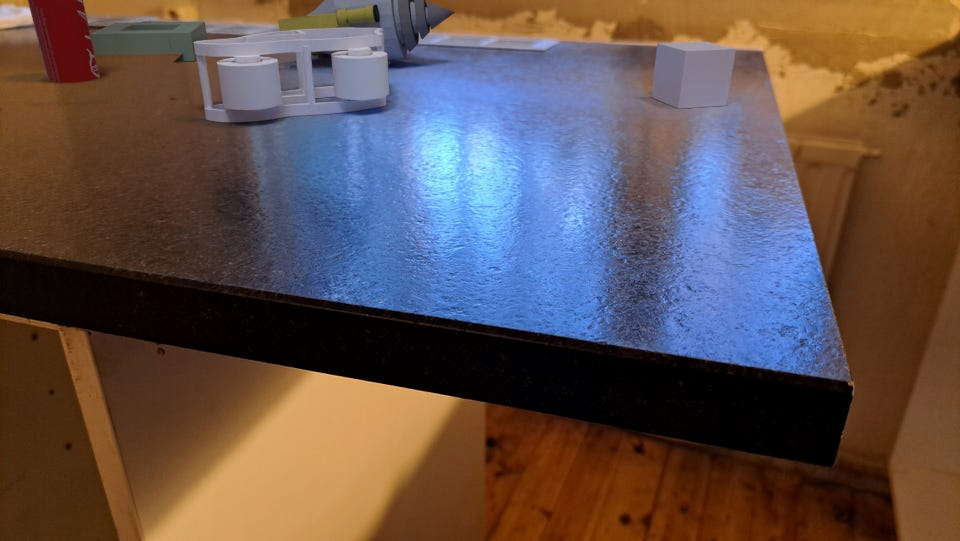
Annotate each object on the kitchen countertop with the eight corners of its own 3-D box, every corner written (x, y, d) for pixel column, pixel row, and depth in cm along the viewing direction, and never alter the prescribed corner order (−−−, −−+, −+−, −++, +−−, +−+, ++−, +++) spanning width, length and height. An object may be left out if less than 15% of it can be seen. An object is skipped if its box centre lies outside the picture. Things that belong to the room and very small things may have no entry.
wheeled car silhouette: (212, 131, 66) (199, 50, 63) (199, 107, 75) (187, 34, 72) (412, 111, 74) (410, 38, 71) (380, 91, 83) (376, 25, 80)
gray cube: (651, 97, 81) (657, 43, 78) (697, 94, 82) (704, 41, 80) (678, 108, 76) (685, 50, 73) (727, 105, 77) (735, 48, 75)
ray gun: (308, 10, 109) (259, -19, 90) (459, -11, 107) (443, -46, 87) (319, 84, 111) (273, 71, 92) (468, 64, 109) (454, 47, 89)
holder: (96, 63, 99) (89, 33, 97) (120, 49, 110) (115, 22, 109) (195, 61, 101) (190, 32, 99) (208, 47, 113) (204, 21, 111)
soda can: (105, 89, 83) (80, -21, 78) (52, 94, 80) (23, -20, 75) (99, 81, 87) (75, -24, 82) (49, 85, 85) (21, -23, 79)
